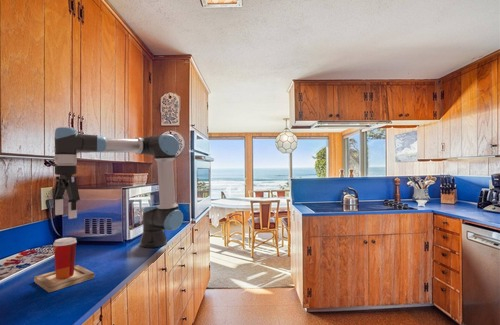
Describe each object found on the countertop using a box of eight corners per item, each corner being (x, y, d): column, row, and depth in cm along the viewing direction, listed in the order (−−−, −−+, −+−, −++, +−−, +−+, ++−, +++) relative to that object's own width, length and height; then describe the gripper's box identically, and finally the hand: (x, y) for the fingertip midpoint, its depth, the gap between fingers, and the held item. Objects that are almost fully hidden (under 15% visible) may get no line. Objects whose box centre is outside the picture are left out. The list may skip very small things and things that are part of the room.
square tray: (77, 269, 122) (77, 264, 122) (94, 278, 113) (94, 273, 113) (34, 281, 109) (34, 276, 109) (48, 292, 100) (48, 286, 100)
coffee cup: (69, 271, 116) (70, 236, 117) (81, 274, 113) (81, 238, 113) (47, 278, 109) (48, 240, 109) (59, 282, 105) (59, 243, 106)
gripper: (43, 165, 116) (43, 214, 116) (68, 164, 101) (68, 221, 101) (63, 165, 122) (63, 212, 122) (89, 164, 107) (89, 218, 107)
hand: (65, 216), depth 111 cm, fingers open, 13 cm apart
